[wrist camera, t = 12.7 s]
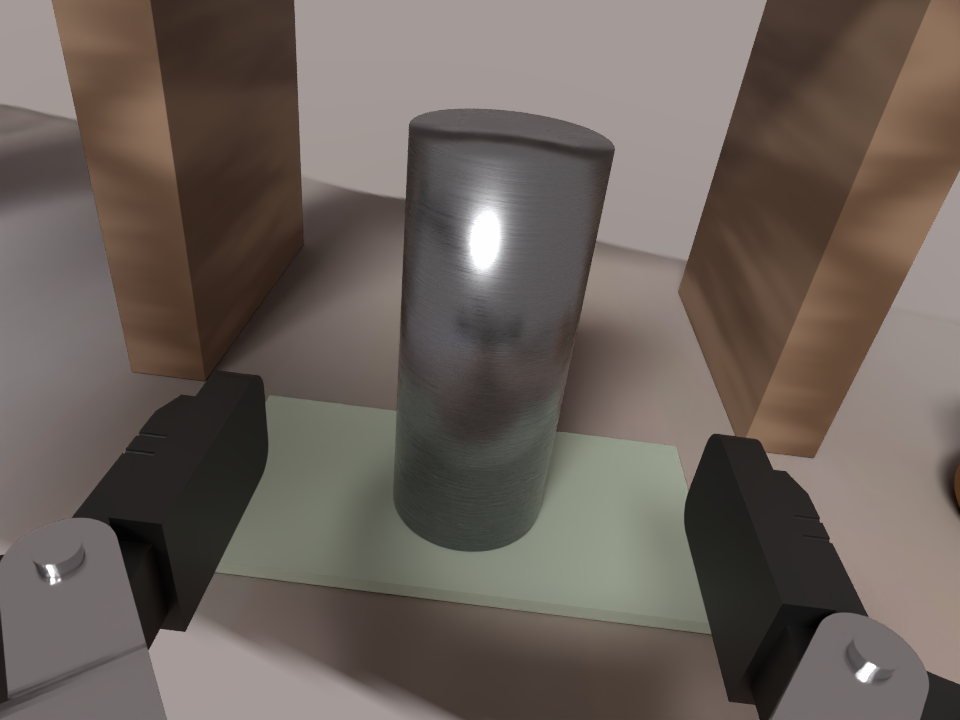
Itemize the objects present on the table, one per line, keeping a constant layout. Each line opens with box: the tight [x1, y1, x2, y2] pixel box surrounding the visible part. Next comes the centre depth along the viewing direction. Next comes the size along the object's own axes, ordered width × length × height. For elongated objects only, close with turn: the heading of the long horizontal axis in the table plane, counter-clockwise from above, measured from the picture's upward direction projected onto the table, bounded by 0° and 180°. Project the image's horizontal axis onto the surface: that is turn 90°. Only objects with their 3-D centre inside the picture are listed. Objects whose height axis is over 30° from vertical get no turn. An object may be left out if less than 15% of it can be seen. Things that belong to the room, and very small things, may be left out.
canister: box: [393, 109, 615, 552], centre depth 19 cm, size 5×5×12 cm
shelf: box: [52, 0, 960, 458], centre depth 27 cm, size 28×16×22 cm, turn 86°
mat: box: [215, 395, 711, 634], centre depth 23 cm, size 16×8×1 cm, turn 86°
